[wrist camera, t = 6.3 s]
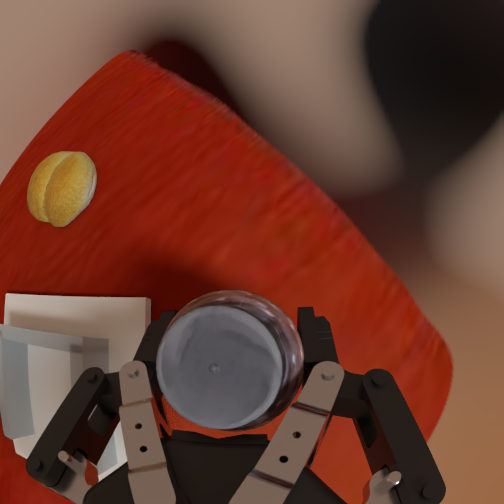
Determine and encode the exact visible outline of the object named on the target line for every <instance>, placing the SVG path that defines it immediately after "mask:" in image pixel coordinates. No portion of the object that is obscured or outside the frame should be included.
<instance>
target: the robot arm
mask: <svg viewBox="0 0 504 504" xmlns="http://www.w3.org/2000/svg"><path fill="white" fill-rule="evenodd" d="M177 313H178V310H163V311H162V313H161V316H160V318H159V320H154V321H152V322H151V323H150V324H149V325H148V327H147V329H146V331H145V333H144V334H145V335H144V336H143V338H142V341H141V342H140V345H139V347H138V349H137V352H136V354H135V356H134V358H133V361H130V362H128V363H126V364H124V365H123V366H122V367H121V369H120V371H119V372H113V373H107V374H105V373H104V372H103V370H102V369H101V368H99V367H91V368H88V369H86V370H85V371H84V372H83V373H82V374H81V375H80V377H79V378H78V380H77V381H76V383H75V384H74V386H73V387H72V389H71V390H70V392H69V393H68V395H67V396H66V398H65V399H64V401H63V402H62V404H61V405H60V407H59V408H58V410H57V411H56V413H55V414H54V416H53V417H52V419H51V421H50V422H49V424H48V425H47V427H46V428H45V430H44V432H43V433H42V435H41V437H40V438H39V440H38V441H37V443H36V445H35V446H34V448H33V450H32V451H31V453H30V455H29V457H28V458H27V461H26V470H27V472H28V474H29V475H30V476H31V477H32V478H34V479H35V480H37V481H38V482H40V483H41V484H42V485H43V486H45V487H46V488H48V489H50V490H51V491H53V492H55V493H56V494H58V495H61V496H63V497H64V498H66V499H68V500H72V501H73V502H75V503H77V504H347V503H346V502H345V501H344V500H343V499H341V498H340V497H339V496H338V495H337V494H336V493H335V492H334V491H333V490H332V489H330V488H329V487H328V486H327V485H326V484H325V483H324V482H323V481H322V480H321V479H320V478H319V477H318V476H317V475H316V474H315V473H314V472H313V471H312V470H311V469H310V468H311V466H312V464H313V462H314V460H315V458H316V455H317V453H318V451H319V448H320V446H321V443H322V441H323V438H324V436H325V434H326V432H327V429H328V427H329V425H330V422H331V420H332V417H333V415H335V416H341V417H347V418H352V419H353V422H354V425H355V427H356V430H357V433H358V436H359V438H360V441H361V444H362V447H363V449H364V452H365V455H366V458H367V461H368V463H369V466H370V469H371V472H372V475H373V476H372V478H371V479H370V480H369V481H368V482H367V483H366V484H365V486H364V488H363V503H362V504H439V503H440V502H441V501H442V500H443V498H444V496H445V492H446V487H445V484H444V481H443V479H442V477H441V474H440V472H439V470H438V468H437V465H436V463H435V461H434V459H433V457H432V454H431V452H430V450H429V448H428V446H427V444H426V441H425V439H424V437H423V435H422V433H421V431H420V429H419V427H418V425H417V423H416V421H415V419H414V417H413V415H412V413H411V411H410V409H409V407H408V405H407V403H406V401H405V399H404V397H403V395H402V393H401V391H400V390H399V388H398V386H397V384H396V382H395V380H394V378H393V376H392V375H391V374H390V373H389V372H388V371H386V370H383V369H372V370H370V371H368V372H367V373H366V374H365V375H360V374H353V373H350V372H347V371H346V370H344V369H343V368H342V367H341V366H340V364H339V362H338V358H337V353H336V349H335V344H334V340H333V335H332V332H331V327H330V323H329V322H328V321H327V319H326V318H325V317H324V316H320V317H315V315H314V310H313V307H298V316H297V331H298V333H299V336H300V338H301V342H302V346H303V351H304V374H303V378H302V382H301V383H302V392H301V394H300V396H299V398H298V400H297V401H296V403H293V404H292V405H291V406H290V408H289V410H288V411H287V413H286V415H285V417H284V419H283V421H282V422H281V424H280V426H279V428H278V429H277V431H276V433H275V435H274V436H273V438H272V440H271V441H269V440H268V439H267V434H242V435H237V436H232V437H226V438H220V439H217V438H213V437H209V436H206V435H203V434H200V433H197V432H190V431H181V430H173V431H172V430H171V427H170V423H169V420H168V416H167V413H166V409H165V406H164V402H163V399H162V395H163V392H162V391H161V389H160V386H159V383H158V379H157V373H156V356H157V352H158V347H159V344H160V342H161V339H162V337H163V335H164V333H165V331H166V329H167V327H168V325H169V324H170V322H171V321H172V319H173V318H174V317H175V315H176V314H177ZM96 405H97V407H96V408H95V406H96ZM94 408H95V410H94V412H93V413H92V411H93V409H94ZM91 413H92V415H91V417H90V418H89V416H90V414H91ZM88 418H89V420H88ZM120 421H121V428H122V434H123V440H124V445H125V451H126V456H127V462H125V463H124V464H123V465H121V466H120V467H119V468H117V469H116V470H115V471H113V472H112V473H110V474H109V475H108V476H106V477H105V478H103V479H102V480H101V481H99V478H98V470H97V467H96V466H97V464H98V462H99V460H100V458H101V456H102V454H103V452H104V450H105V448H106V446H107V444H108V443H109V441H110V439H111V437H112V435H113V433H114V431H115V429H116V427H117V425H118V423H119V422H120ZM98 481H99V482H98Z"/></svg>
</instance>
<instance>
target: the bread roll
mask: <svg viewBox="0 0 504 504" xmlns="http://www.w3.org/2000/svg"><path fill="white" fill-rule="evenodd" d="M96 182H97V174H96V168H95V165H94V163H93V162H92V160H91V159H90V157H88V155H86V154H85V153H83V152H58V153H54V154H51V155H50V156H48V157H47V158H46V159H44V160H43V161H42V162H41V163H40V164H39V165H38V166H37V168H36V169H35V171H34V173H33V174H32V176H31V179H30V182H29V186H28V194H27V201H28V207H29V210H30V212H31V214H32V215H33V216H34V217H35V218H36V219H37V220H40V221H44V222H50V223H51V224H52V225H53V226H56V227H64V226H66V225H68V224H69V223H70V222H71V221H72V220H74V219H75V218H76V217H77V216H78V215H79V214H80V213H81V212H82V211H83V210H84V209H85V208H86V207H87V206H88V205H89V203H90V201H91V199H92V197H93V195H94V191H95V188H96Z"/></svg>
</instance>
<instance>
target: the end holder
mask: <svg viewBox="0 0 504 504" xmlns="http://www.w3.org/2000/svg"><path fill="white" fill-rule="evenodd" d="M150 323H151V299H149V298H146V297H77V296H48V295H27V294H9V293H6V300H5V314H4V324H0V412H1V419H2V425H3V431H4V435H5V436H6V437H8V438H10V439H11V440H12V439H13V441H14V446H15V451H16V453H17V454H19V455H20V456H22V457H24V458H26V459H27V458H28V457H29V455H30V453H31V451H32V450H33V448H34V446H35V445H36V443H37V441H38V440H39V438H40V437H41V435H42V433H43V432H44V430H45V428H46V427H47V425H48V424H49V422H50V421H51V419H52V417H53V416H54V414H55V413H56V411H57V410H58V408H59V407H60V405H61V404H62V402H63V401H64V399H65V398H66V396H67V395H68V393H69V392H70V390H71V389H72V387H73V386H74V384H75V383H76V381H77V380H78V378H79V377H80V375H81V374H82V373H83V372H84V371H85V370H86V369H88V368H91V367H99V368H101V369H102V370H103V372H104V373H105V374H107V373H113V372H119V371H120V369H121V367H122V366H123V365H124V364H126V363H128V362H130V361H133V358H134V356H135V354H136V352H137V349H138V347H139V345H140V342H141V341H142V338H143V336H144V335H145V334H144V333H145V331H146V329H147V327H148V325H149V324H150ZM96 407H97V405H96V406H95V408H96ZM95 408H94V409H93V411H92V413H93V412H94V410H95ZM92 413H91V414H90V416H89V418H90V417H91V415H92ZM89 418H88V420H89ZM125 462H127V456H126V451H125V445H124V440H123V434H122V428H121V421H120V422H119V423H118V425H117V427H116V429H115V431H114V433H113V435H112V437H111V439H110V441H109V443H108V444H107V446H106V448H105V450H104V452H103V454H102V456H101V458H100V460H99V462H98V464H97V466H96V467H97V470H98V478H99V481H101V480H102V479H103V478H105V477H106V476H108V475H109V474H110V473H112V472H113V471H115V470H116V469H117V468H119V467H120V466H121V465H123V464H124V463H125ZM99 481H98V482H99Z"/></svg>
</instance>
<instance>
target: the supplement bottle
mask: <svg viewBox="0 0 504 504" xmlns="http://www.w3.org/2000/svg"><path fill="white" fill-rule="evenodd" d="M156 373H157V379H158V383H159V386H160V389H161V391H162V392H163V395H164V397H165V398H166V400H167V402H168V403H169V404H170V405H171V407H172V408H174V409H175V410H176V411H177V412H178V413H179V414H180V415H181V416H183V417H184V418H186V419H187V420H189V421H191V422H193V423H195V424H197V425H200V426H203V427H207V428H212V429H217V430H223V431H246V430H250V429H254V428H257V427H260V426H263V425H265V424H267V423H268V422H270V421H272V420H273V419H274V418H276V417H277V416H279V415H280V414H281V413H282V412H283V411H284V410H285V409H286V408H287V407H288V406H289V405H290V403H291V402H292V400H293V399H294V397H295V396H296V394H297V392H298V390H299V388H300V385H301V382H302V378H303V374H304V351H303V346H302V342H301V338H300V336H299V333H298V331H297V329H296V327H295V326H294V324H293V322H292V321H291V319H290V318H289V317H288V316H287V315H286V314H285V312H284V311H283V310H282V309H280V308H279V307H278V306H277V305H276V304H274V303H273V302H271V301H270V300H268V299H266V298H264V297H262V296H260V295H257V294H254V293H251V292H247V291H242V290H220V291H214V292H211V293H207V294H204V295H202V296H200V297H198V298H196V299H194V300H192V301H191V302H189V303H188V304H187V305H185V306H184V307H183V308H182V309H181V310H180V311H179V312H178V313H177V314H176V315H175V317H174V318H173V319H172V321H171V322H170V324H169V325H168V327H167V329H166V331H165V333H164V335H163V337H162V339H161V342H160V344H159V347H158V352H157V356H156Z"/></svg>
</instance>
